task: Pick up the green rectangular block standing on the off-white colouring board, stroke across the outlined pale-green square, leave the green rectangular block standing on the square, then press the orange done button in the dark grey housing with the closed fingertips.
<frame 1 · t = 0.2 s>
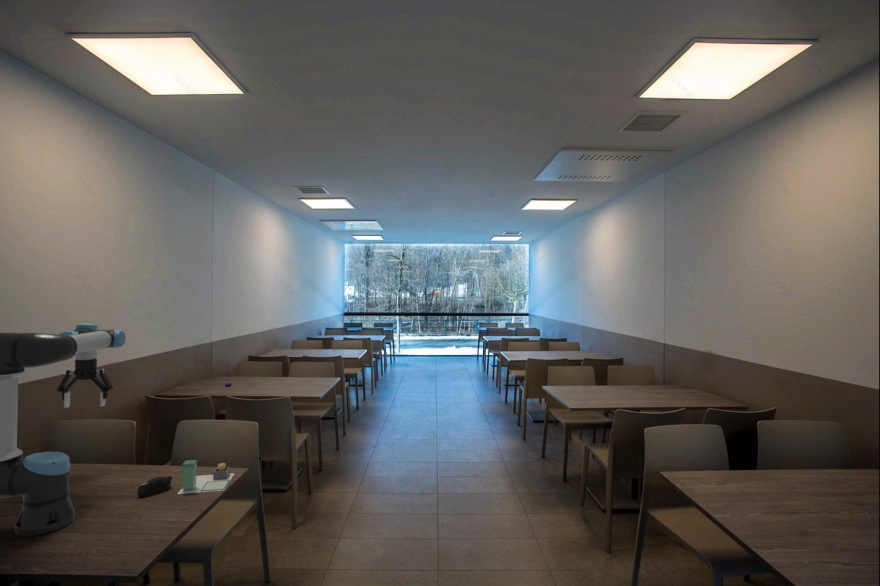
hand: (84, 406, 192), 28 cm above the table, fingers open, 13 cm apart
rock: (153, 493, 172), on the table
done button: (221, 467, 186), point 4 cm above the table, slide at 0.0 cm
green rectangular block: (189, 488, 174), point 1 cm above the table, touching board
button housing: (221, 478, 186), resting on board
board: (207, 484, 180), on the table
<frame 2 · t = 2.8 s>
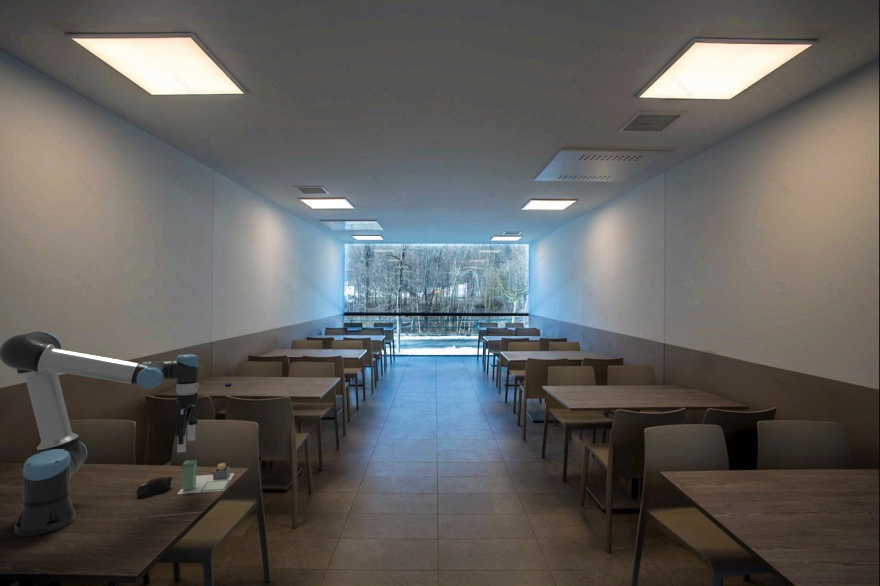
hand: (186, 446, 175), 17 cm above the table, fingers open, 13 cm apart
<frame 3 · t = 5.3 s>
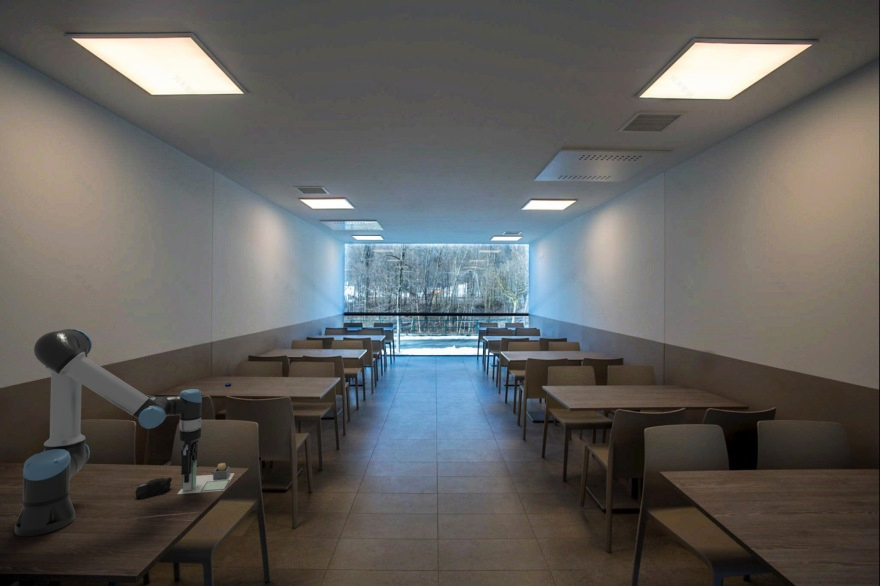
hand: (189, 487, 174), 1 cm above the table, fingers closed on green rectangular block, 4 cm apart
green rectangular block: (189, 488, 174), point 1 cm above the table, touching board, gripper
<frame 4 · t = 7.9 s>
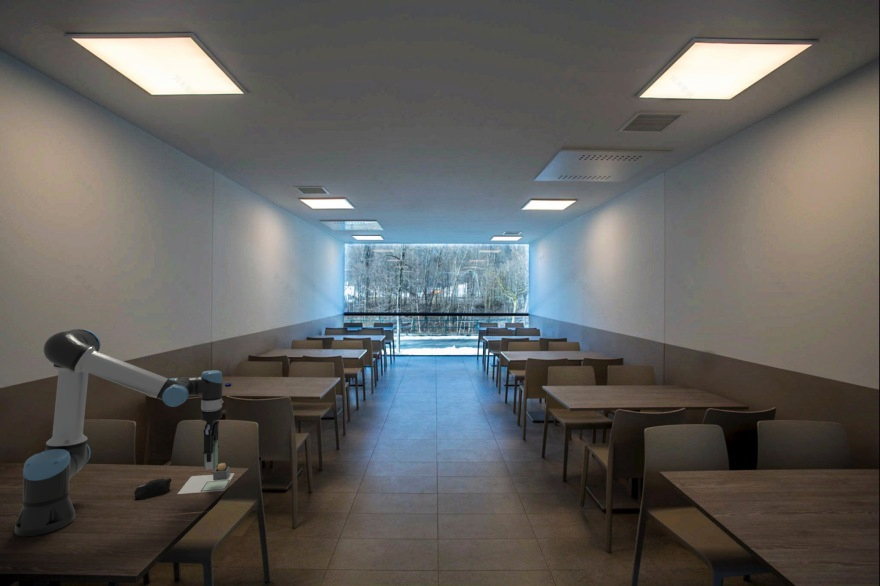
hand: (211, 466, 176), 9 cm above the table, fingers closed on green rectangular block, 4 cm apart
green rectangular block: (211, 468, 176), point 8 cm above the table, touching gripper
when the fingers open (2 cm above the table, at t = 10.5 s): green rectangular block stays where it is, resting on board.
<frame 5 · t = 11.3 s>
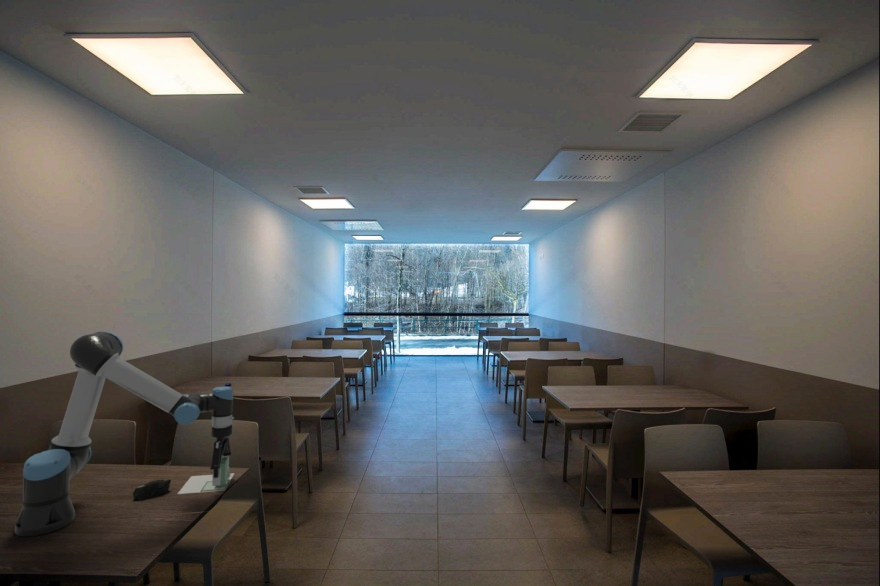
hand: (220, 478, 177), 4 cm above the table, fingers open, 13 cm apart
green rectangular block: (220, 485, 177), point 1 cm above the table, touching board
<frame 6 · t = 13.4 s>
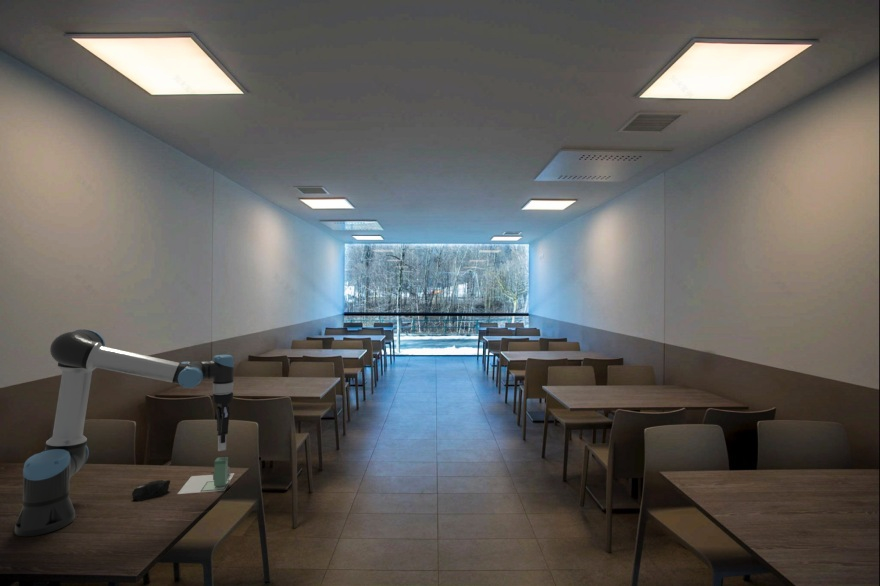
hand: (221, 450, 179), 15 cm above the table, fingers closed
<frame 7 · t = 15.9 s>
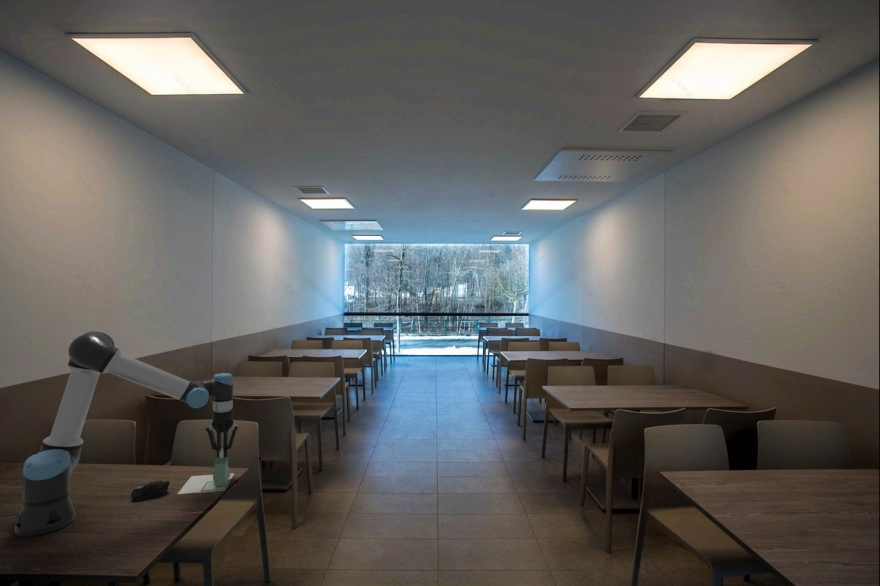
hand: (221, 465, 186), 6 cm above the table, fingers closed
done button: (221, 469, 186), point 4 cm above the table, slide at 0.6 cm, touching gripper
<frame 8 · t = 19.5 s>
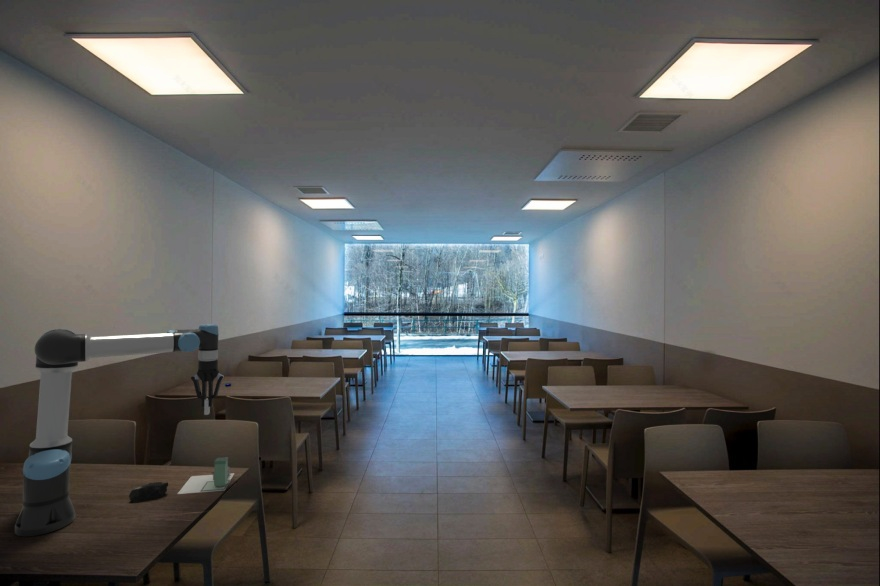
hand: (206, 414, 189), 26 cm above the table, fingers closed
done button: (221, 470, 186), point 3 cm above the table, slide at 1.0 cm
at the end: green rectangular block inside the target area (2.1 cm from its centre), point 0.8 cm above the table; the gripper is holding nothing; done button slide at 1.0 cm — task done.
